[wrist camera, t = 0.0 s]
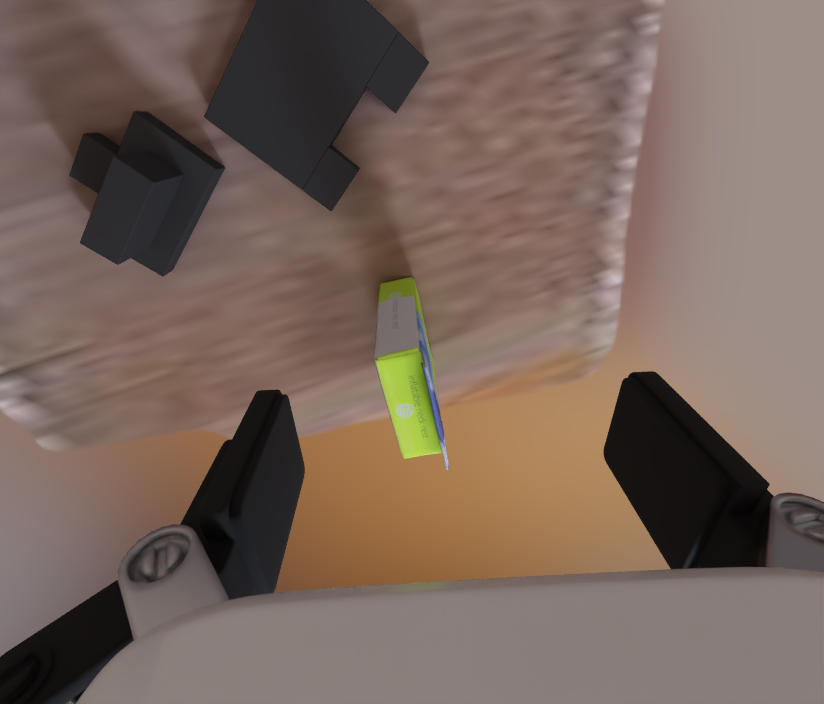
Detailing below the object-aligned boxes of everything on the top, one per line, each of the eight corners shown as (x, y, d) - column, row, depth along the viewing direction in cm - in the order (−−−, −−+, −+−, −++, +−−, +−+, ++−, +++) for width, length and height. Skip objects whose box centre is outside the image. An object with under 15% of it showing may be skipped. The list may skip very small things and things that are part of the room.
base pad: (297, -63, 29) (291, -74, 27) (427, 65, 33) (429, 62, 31) (213, 116, 34) (203, 116, 32) (334, 207, 38) (331, 211, 36)
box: (377, 282, 42) (367, 373, 27) (416, 274, 42) (427, 361, 27) (400, 366, 47) (402, 481, 32) (435, 359, 47) (453, 472, 32)
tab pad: (114, 88, 33) (51, 82, 27) (225, 167, 36) (191, 177, 30) (71, 209, 38) (8, 227, 31) (172, 270, 41) (133, 297, 35)
